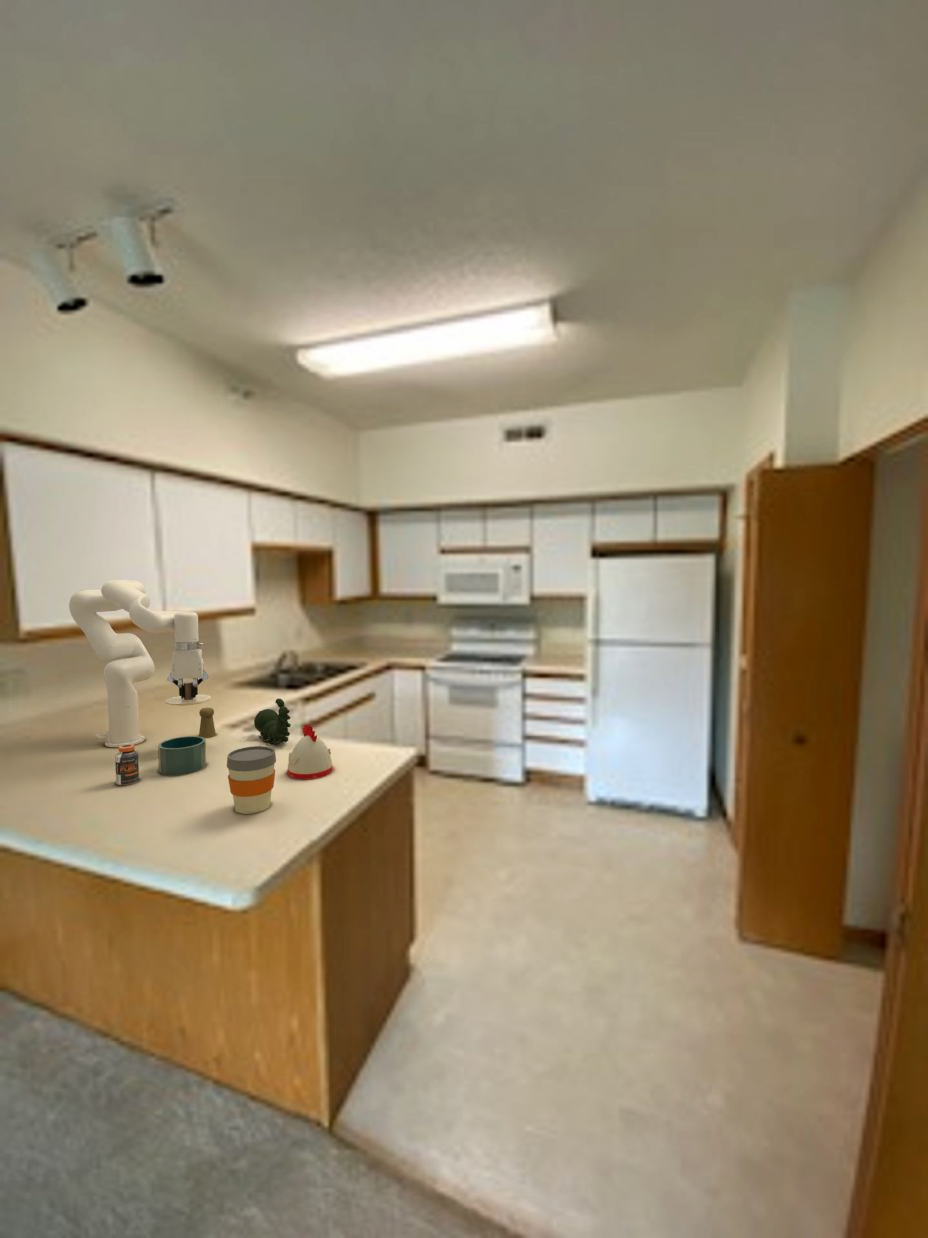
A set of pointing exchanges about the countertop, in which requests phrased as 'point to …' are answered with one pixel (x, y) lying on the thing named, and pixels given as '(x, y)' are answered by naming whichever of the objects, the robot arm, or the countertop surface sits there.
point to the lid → (188, 697)
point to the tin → (182, 755)
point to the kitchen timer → (309, 757)
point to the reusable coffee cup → (251, 778)
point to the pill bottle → (127, 765)
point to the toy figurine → (273, 723)
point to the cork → (207, 723)
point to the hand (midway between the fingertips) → (188, 697)
